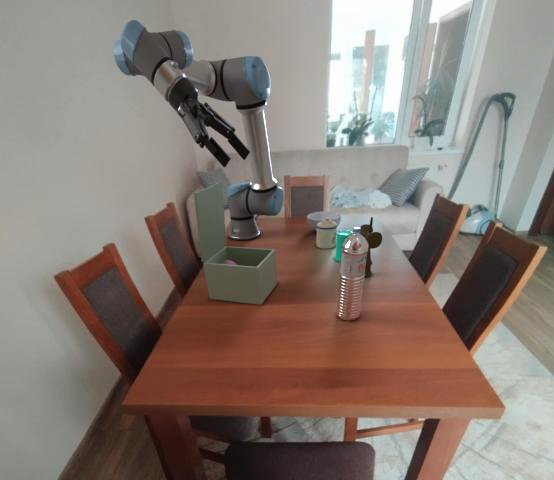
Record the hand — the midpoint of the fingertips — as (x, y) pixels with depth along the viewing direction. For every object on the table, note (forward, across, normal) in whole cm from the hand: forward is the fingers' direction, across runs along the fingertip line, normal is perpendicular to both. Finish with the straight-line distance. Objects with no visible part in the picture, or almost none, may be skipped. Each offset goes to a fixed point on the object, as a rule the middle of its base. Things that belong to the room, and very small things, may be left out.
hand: (238, 159), depth 89 cm
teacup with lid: (+39, +53, +16) cm, 68 cm away
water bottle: (+52, -10, +2) cm, 53 cm away
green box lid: (+4, 0, +19) cm, 20 cm away
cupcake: (+24, 0, +28) cm, 37 cm away
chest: (+26, 0, +29) cm, 39 cm away
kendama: (+53, +22, +2) cm, 58 cm away
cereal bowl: (+36, +74, +20) cm, 85 cm away
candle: (+46, +36, +9) cm, 59 cm away
